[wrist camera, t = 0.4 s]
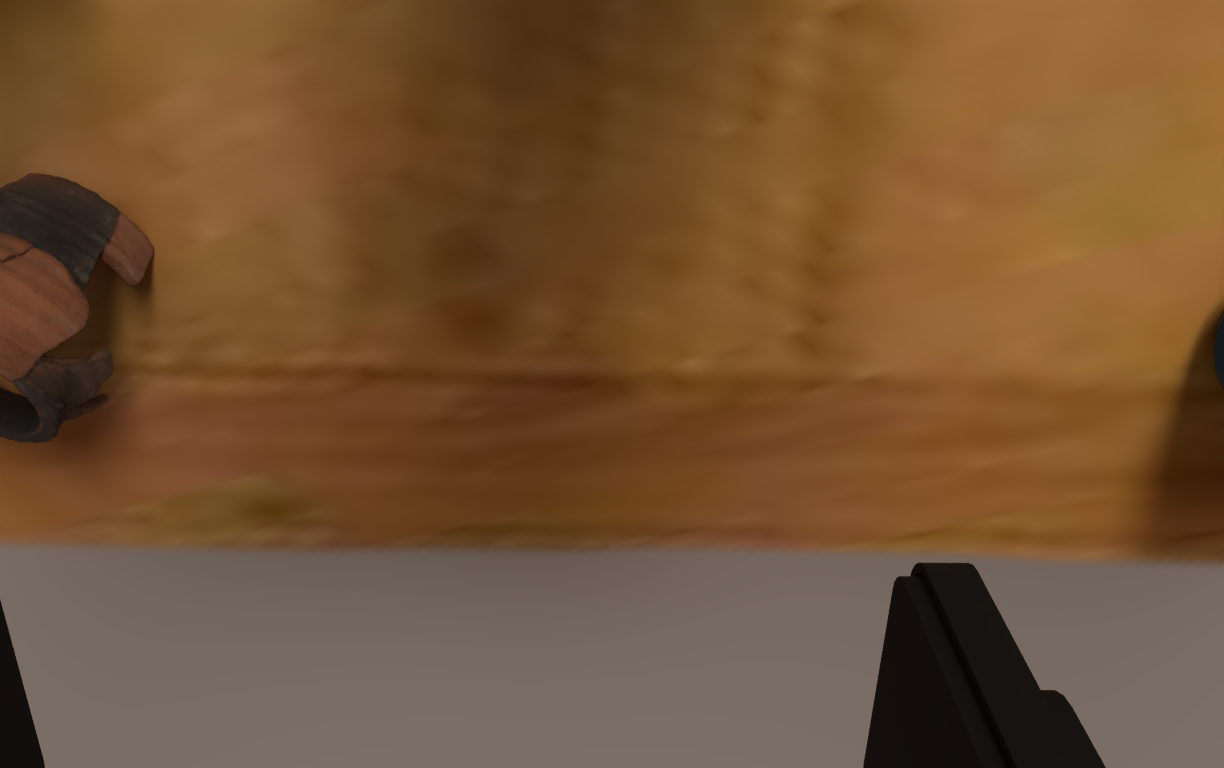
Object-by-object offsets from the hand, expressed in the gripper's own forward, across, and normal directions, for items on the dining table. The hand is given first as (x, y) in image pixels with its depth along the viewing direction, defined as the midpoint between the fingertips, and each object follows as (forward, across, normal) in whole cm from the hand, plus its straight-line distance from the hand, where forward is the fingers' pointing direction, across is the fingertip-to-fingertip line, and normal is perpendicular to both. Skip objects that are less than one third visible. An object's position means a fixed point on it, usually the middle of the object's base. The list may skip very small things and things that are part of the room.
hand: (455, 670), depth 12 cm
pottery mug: (+35, +21, +8) cm, 42 cm away
